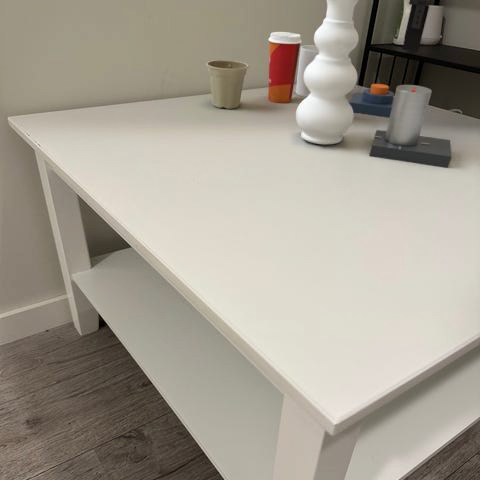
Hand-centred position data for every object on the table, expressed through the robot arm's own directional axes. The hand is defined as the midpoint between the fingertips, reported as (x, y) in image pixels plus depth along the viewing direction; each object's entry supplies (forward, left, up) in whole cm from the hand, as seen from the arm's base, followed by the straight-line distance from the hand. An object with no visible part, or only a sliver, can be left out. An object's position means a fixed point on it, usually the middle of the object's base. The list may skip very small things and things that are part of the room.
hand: (410, 44), depth 89 cm
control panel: (-4, +9, -16) cm, 19 cm away
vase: (+13, +9, -17) cm, 23 cm away
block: (+5, -19, -16) cm, 25 cm away
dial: (-2, +9, -14) cm, 17 cm away
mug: (+20, -27, -17) cm, 37 cm away
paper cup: (+28, -17, -17) cm, 36 cm away
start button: (+5, -19, -13) cm, 23 cm away
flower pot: (+38, -6, -17) cm, 42 cm away
